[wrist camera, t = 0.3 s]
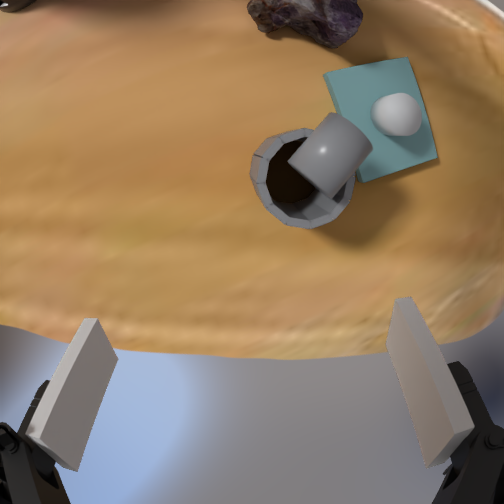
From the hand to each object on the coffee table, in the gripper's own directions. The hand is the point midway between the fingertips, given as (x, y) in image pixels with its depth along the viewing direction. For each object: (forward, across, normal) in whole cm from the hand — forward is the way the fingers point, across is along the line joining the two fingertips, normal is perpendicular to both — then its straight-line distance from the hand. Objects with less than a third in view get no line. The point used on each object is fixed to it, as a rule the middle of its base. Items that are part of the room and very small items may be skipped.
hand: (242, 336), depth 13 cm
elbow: (+27, +4, -1) cm, 28 cm away
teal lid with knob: (+30, +17, +5) cm, 35 cm away
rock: (+32, +8, +19) cm, 38 cm away
